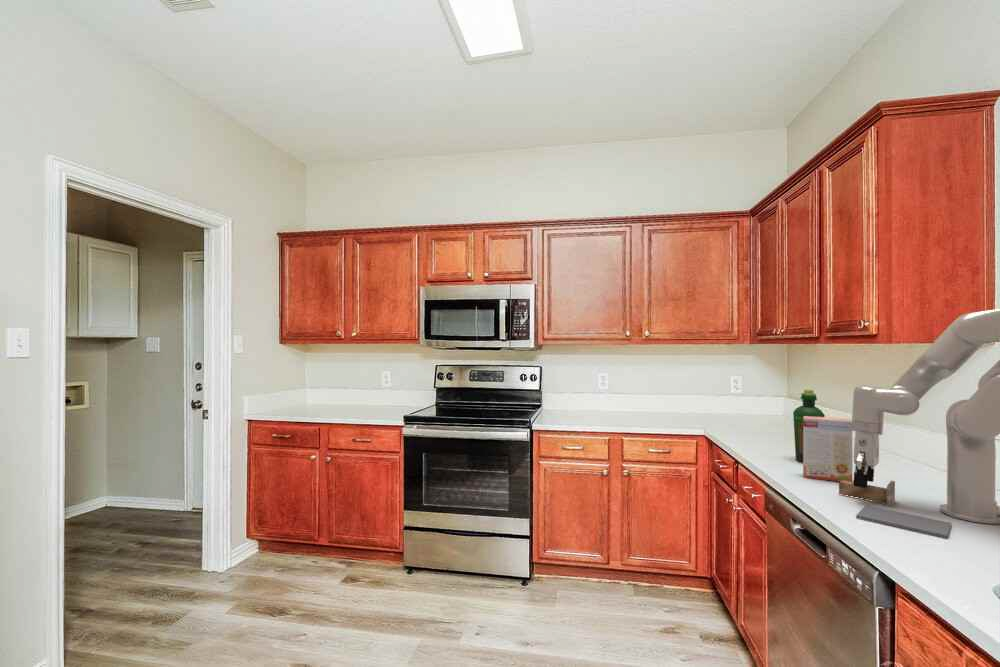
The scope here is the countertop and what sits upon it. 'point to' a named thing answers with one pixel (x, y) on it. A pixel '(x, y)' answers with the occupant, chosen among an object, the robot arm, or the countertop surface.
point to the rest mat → (905, 521)
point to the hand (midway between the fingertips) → (863, 483)
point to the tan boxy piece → (869, 492)
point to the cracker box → (827, 448)
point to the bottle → (798, 416)
